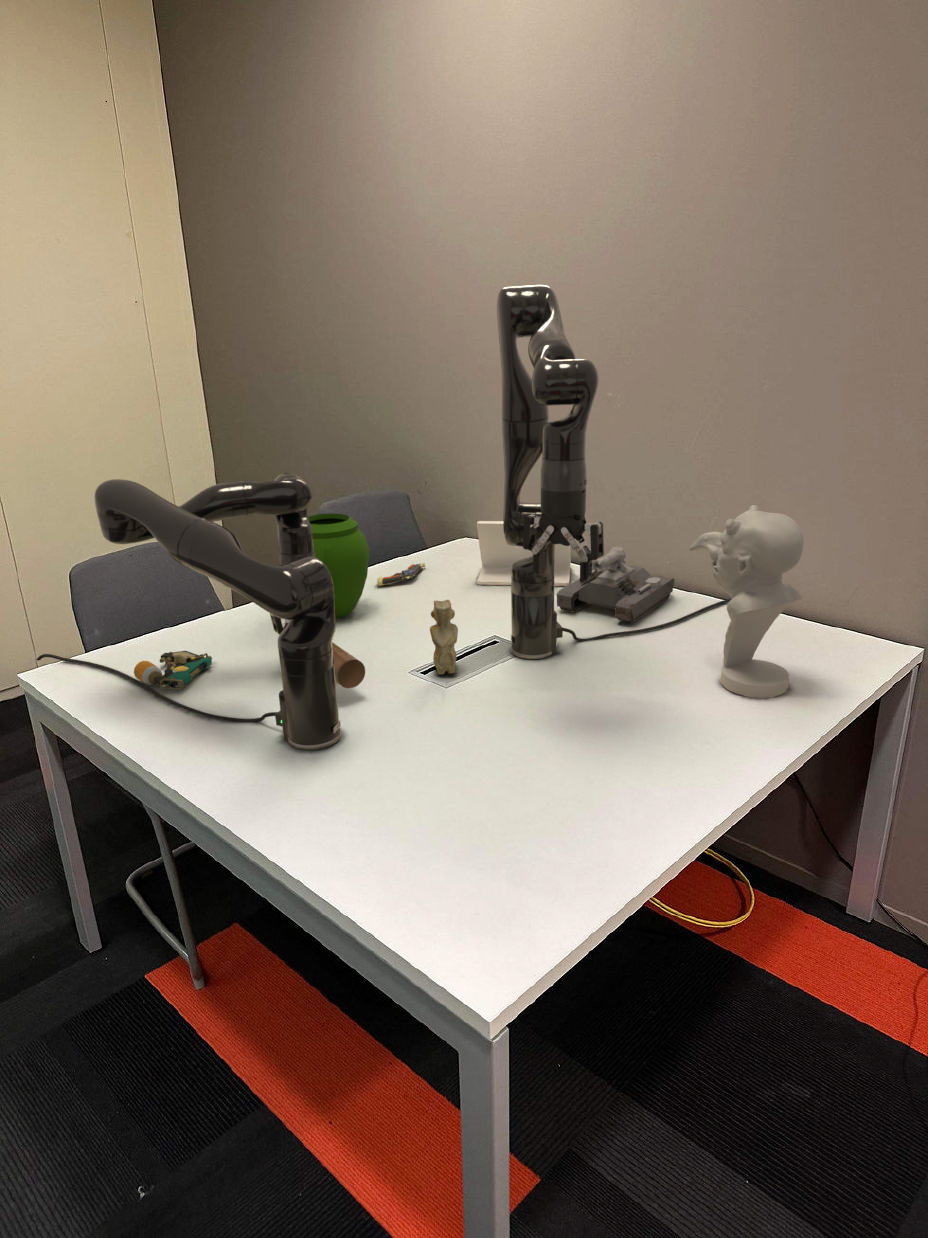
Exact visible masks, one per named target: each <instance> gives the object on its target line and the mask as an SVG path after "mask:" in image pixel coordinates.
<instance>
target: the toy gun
mask: <svg viewBox="0 0 928 1238" xmlns="http://www.w3.org/2000/svg"><path fill="white" fill-rule="evenodd" d="M425 567H426V563H424V562H423V563H416V564H414V563H413V564H410V565H409V566H408V567H407V569H405V570H401V572H396V573H394V574H393V575H390V576H379V577H377V579H376V582H377V586H379V587H381V586H384V585H385V586H386V585H390V584H394V583H399V582H402V581H405V580H409V579H413V577H415V576H417V575H418V572H420V570H423V568H425Z"/></svg>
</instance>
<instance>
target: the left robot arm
mask: <svg viewBox="0 0 928 1238" xmlns="http://www.w3.org/2000/svg"><path fill="white" fill-rule="evenodd" d="M312 501H313V493H312V489H311V487H310V485H309V484H308V482H306V481H305V480H304V479H303V478H302V477H301V476H300V475H298V474H297V473H295V472H283V473H281V474H279V475H277V476H276V478H274V480H272V481H255V480H250V479H249V480H239V481H238V480H237V481H229V482H223V483H217V484H214V485H211V486H208V487H206V488H204V489H202V490H201V491H199V492H198V493H196V494H195V495H194V496H192V497H190V499H188V500H187V501H185V502H184V503H182V504H181V505H176V504H174V503H173V502H171V501H169V500H167V499H165V498H163V497H162V496H160V495H159V494H157V493H156V492H154V491H153V490H151V489H150V488H148V487H146V486H144V485H142V484H140V483H139V482H136V481H132V480H129V479H124V478H113V479H108V480H104V481H103V482H101V483H100V484H99V485H98V486H96V489H95V491H94V506H95V511H96V516H97V519H98V523H99V527H100V532H101V535H102V537H103V538H104V539H105V540H106V541H107V542H109V543H113V544H116V545H129V544H136V543H140V542H145V541H149V540H153V539H155V540H156V541H157V543H159V545H160V546H161V548H163V550H164V551H165V552H166V553H167V554H168V555H169V556H170V557H171V558H172V559H173V560H174V561H176V562H177V563H178V564H180V565H182V566H184V567H186V568H187V569H189V570H192V571H193V572H195V573H198V574H200V575H202V576H205V577H206V578H209V579H211V580H213V581H215V582H217V583H219V584H220V585H223V586H224V587H226V588H228V589H230V590H232V591H234V592H236V593H238V594H240V595H241V596H243V597H244V598H246V599H247V600H249V601H250V602H252V603H254V604H255V605H256V606H258V607H260V608H261V609H262V610H264V611H266V612H267V613H268V614H269V616H270V620H271V624H272V627H273V631H274V632H276V633H277V634H278V637H277V652H278V659H279V668H280V677H281V686H282V689H281V690H280V691H279V692H278V701H279V711H271V712H266V713H264V714H262V715H261V716H260V717H255V718H242V717H241V718H240V717H231V716H225V715H218V714H213V713H208V712H205V711H201V710H198V709H196V708H193V707H190V706H188V705H184V704H182V703H180V702H178V701H175V700H173V699H171V698H169V697H168V696H165V695H163V694H161V693H160V692H159V691H158V690H157V691H156V690H155V689H153V688H152V687H150V686H149V685H147V684H145V683H143V682H142V681H140V680H139V679H137V678H134V677H132V676H131V675H128V674H126V673H124V672H122V671H120V670H118V669H114V668H112V667H109V666H106V665H103V664H99V663H95V662H91V661H86V660H81V659H74V658H68V657H63V656H59V655H55V654H51V653H43V654H41V655H39V656H38V657H37V658H36V661H41V660H43V658H51V659H55V660H57V661H61V662H67V663H73V664H74V663H75V664H80V665H85V666H89V667H94V668H98V669H102V670H105V671H107V672H108V671H109V672H111V673H114V674H116V675H119V676H120V677H123V678H125V679H127V680H129V681H131V682H133V683H135V684H136V685H138V686H139V687H141V688H143V689H145V690H146V691H148V692H150V693H151V694H153V695H154V696H156V697H157V698H160V699H161V700H164V701H165V702H168V703H170V704H171V705H173V706H175V707H177V708H179V709H183V710H185V711H188V712H191V713H193V714H196V715H199V716H202V717H206V718H210V719H214V720H219V721H221V720H222V721H228V722H234V723H260V722H263V721H264V720H265V719H266V718H268V717H274V718H275V725H276V726H278V727H282V736H283V737H282V738H283V741H284V742H287V743H288V744H289V745H290V746H291V747H293V748H295V749H297V750H301V751H302V750H303V751H317V750H322V749H325V748H329V747H331V746H333V745H335V744H336V743H337V742H338V741H340V739H341V737H342V736H341V735H342V732H341V728H340V727H341V725H342V724H341V720H340V717H339V704H338V693H337V692H338V691H337V684H336V683H337V682H336V681H335V670H334V659H333V648H332V642H333V638H334V635H335V632H336V619H335V599H334V587H333V581H332V578H331V575H330V572H329V570H328V568H327V567H326V565H325V564H324V563H323V562H322V561H321V560H319V559H318V558H316V556H315V552H314V542H313V532H312V527H311V525H310V522H309V520H308V517H309V513H308V508H309V506H310V505H311V502H312ZM254 516H275V521H276V527H277V541H278V551H279V552H278V554H279V558H278V560H279V561H278V565H271V564H269V563H265V562H262V561H260V560H257V559H255V558H253V557H251V556H249V555H248V554H247V553H246V551H245V550H244V548H243V545H242V543H241V542H240V540H239V538H238V537H237V536H236V534H235V533H233V532H232V531H231V530H230V529H228V528H226V527H225V526H223V525H220V524H218V523H216V522H219V521H225V520H234V519H241V518H247V517H254ZM282 620H284V623H282Z"/></svg>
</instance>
